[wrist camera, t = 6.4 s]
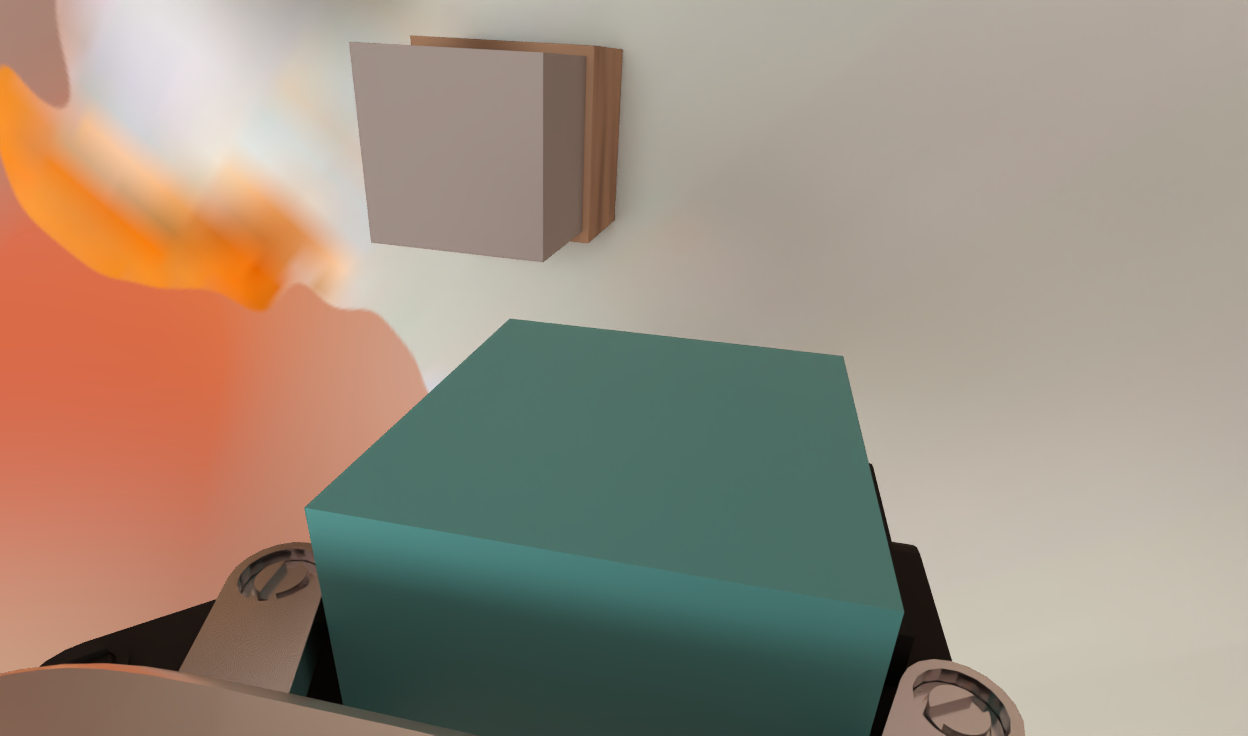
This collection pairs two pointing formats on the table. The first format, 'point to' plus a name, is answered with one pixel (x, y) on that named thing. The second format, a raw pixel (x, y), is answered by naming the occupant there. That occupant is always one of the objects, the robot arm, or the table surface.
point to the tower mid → (471, 147)
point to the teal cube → (614, 545)
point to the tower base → (598, 119)
